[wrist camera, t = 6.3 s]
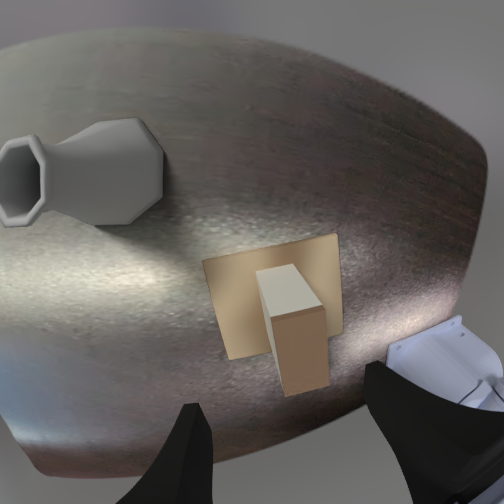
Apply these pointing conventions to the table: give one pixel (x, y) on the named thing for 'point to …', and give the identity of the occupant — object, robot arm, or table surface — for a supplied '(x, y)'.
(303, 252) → the cork mat
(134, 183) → the flask
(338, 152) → the table surface
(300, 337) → the cream slab
